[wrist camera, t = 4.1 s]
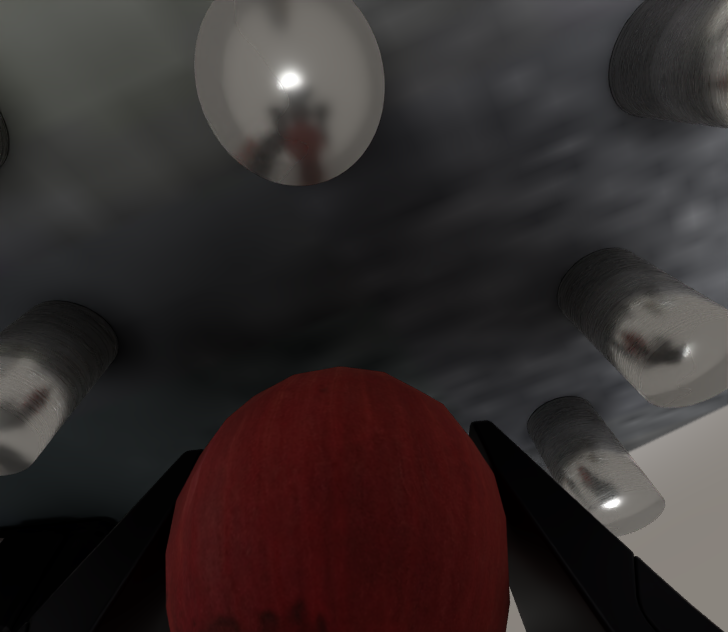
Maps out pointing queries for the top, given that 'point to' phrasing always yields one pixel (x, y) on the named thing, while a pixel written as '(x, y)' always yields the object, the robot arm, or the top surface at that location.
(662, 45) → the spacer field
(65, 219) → the top surface
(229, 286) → the top surface
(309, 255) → the top surface
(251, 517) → the onion
